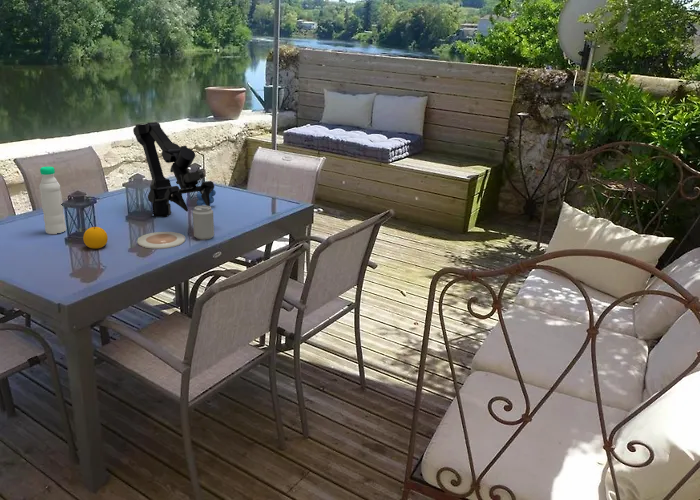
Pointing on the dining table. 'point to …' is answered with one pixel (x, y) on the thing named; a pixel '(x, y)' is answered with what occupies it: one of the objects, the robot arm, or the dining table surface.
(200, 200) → the grapes
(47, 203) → the milk bottle
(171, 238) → the saucer
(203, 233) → the can
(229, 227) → the dining table surface
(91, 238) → the orange
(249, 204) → the dining table surface
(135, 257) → the dining table surface
